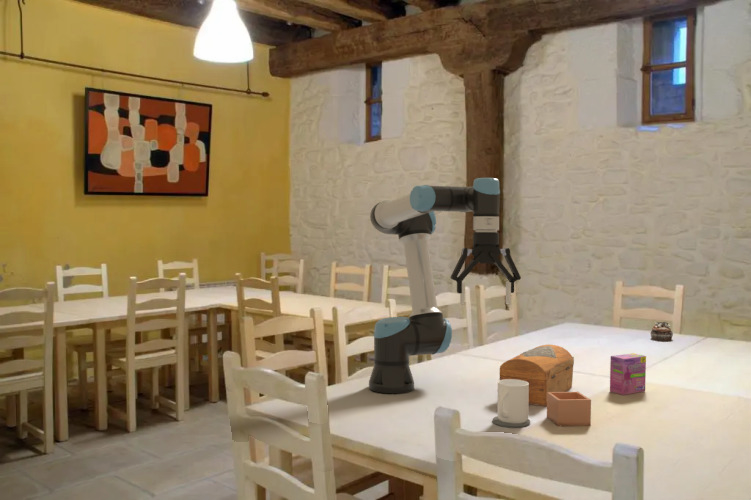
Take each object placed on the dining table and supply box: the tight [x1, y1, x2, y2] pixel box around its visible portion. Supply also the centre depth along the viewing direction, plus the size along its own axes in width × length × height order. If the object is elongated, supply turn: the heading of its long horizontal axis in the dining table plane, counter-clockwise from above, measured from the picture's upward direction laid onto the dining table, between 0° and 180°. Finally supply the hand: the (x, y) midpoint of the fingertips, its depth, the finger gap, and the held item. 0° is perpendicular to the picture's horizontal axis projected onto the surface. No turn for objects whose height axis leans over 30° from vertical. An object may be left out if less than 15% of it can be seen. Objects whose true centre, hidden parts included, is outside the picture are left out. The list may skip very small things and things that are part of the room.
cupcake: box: [650, 321, 674, 342], centre depth 317 cm, size 10×10×10 cm
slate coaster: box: [492, 415, 531, 429], centre depth 187 cm, size 10×10×1 cm
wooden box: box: [498, 343, 575, 407], centre depth 221 cm, size 30×16×14 cm, turn 148°
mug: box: [496, 379, 529, 424], centre depth 186 cm, size 12×8×10 cm
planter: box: [546, 391, 592, 427], centre depth 188 cm, size 9×9×7 cm
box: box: [609, 352, 647, 396], centre depth 223 cm, size 10×6×12 cm, turn 117°
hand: (485, 304), depth 200 cm, fingers open, 13 cm apart
